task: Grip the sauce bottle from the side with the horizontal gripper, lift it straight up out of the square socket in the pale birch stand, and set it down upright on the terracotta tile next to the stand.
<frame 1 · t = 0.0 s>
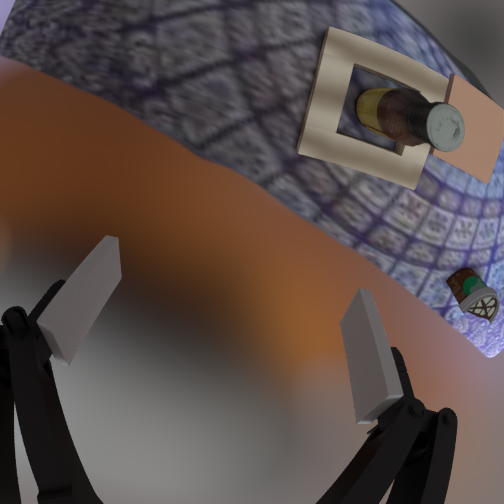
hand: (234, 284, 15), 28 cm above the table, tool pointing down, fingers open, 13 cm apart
terracotta tile: (471, 130, 31), on the table
food container: (466, 275, 46), on the table
bottle stand: (373, 108, 33), on the table
sauce bottle: (372, 108, 33), resting in bottle stand
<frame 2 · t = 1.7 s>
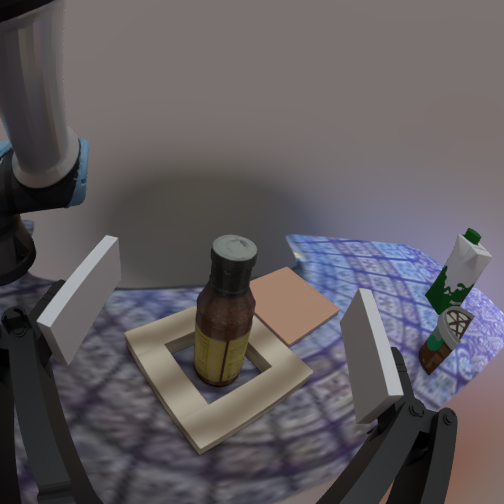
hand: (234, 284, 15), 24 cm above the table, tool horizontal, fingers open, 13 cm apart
terracotta tile: (286, 304, 49), on the table
food container: (427, 354, 44), on the table
bottle stand: (215, 368, 36), on the table
sauce bottle: (215, 369, 36), resting in bottle stand
milk carton: (439, 305, 58), on the table
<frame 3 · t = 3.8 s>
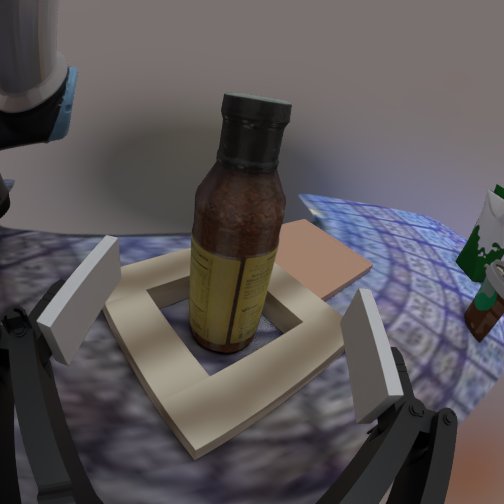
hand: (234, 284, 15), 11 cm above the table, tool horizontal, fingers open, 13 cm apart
terracotta tile: (308, 257, 39), on the table
food container: (472, 320, 34), on the table
bottle stand: (219, 329, 26), on the table
sauce bottle: (219, 331, 26), resting in bottle stand
milk carton: (471, 273, 48), on the table
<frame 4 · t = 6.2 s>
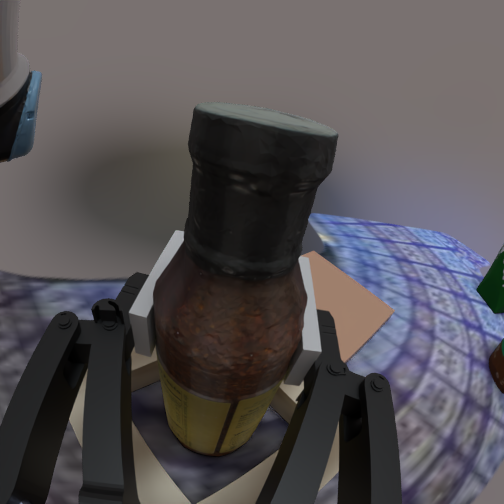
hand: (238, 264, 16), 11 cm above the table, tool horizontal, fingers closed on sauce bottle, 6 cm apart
terracotta tile: (318, 306, 31), on the table
food container: (496, 365, 26), on the table
bottle stand: (207, 422, 18), on the table
sauce bottle: (207, 423, 18), resting in bottle stand, touching gripper
milk carton: (492, 302, 40), on the table
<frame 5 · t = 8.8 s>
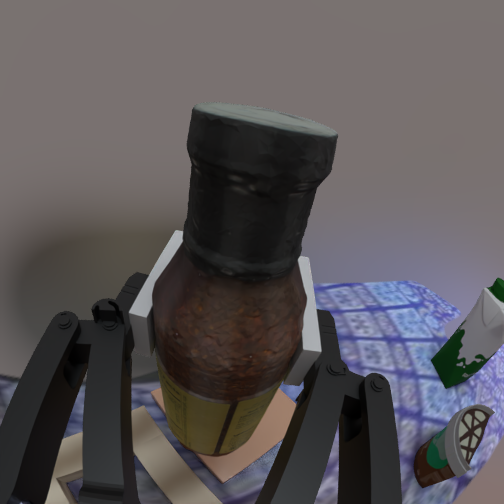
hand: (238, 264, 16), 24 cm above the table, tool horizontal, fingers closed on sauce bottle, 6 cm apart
terracotta tile: (229, 412, 31), on the table
food container: (425, 456, 27), on the table
sauce bottle: (206, 423, 18), point 13 cm above the table, touching gripper
milk carton: (447, 372, 41), on the table
when the fingers open (13 cm above the table, at t = 11.6 s): sauce bottle drops 1 cm, resting on terracotta tile.
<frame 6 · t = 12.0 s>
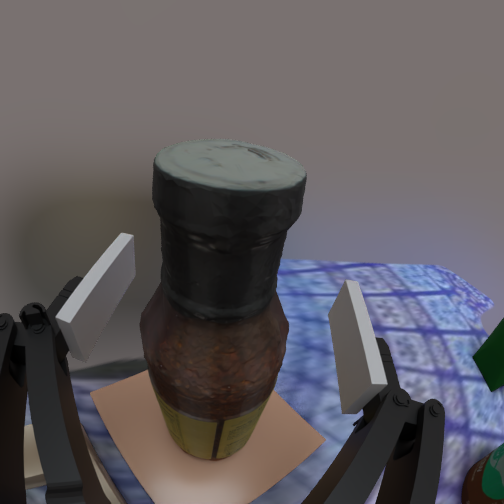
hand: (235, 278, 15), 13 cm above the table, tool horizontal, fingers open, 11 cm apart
terracotta tile: (204, 432, 19), on the table
food container: (473, 481, 14), on the table
sauce bottle: (206, 428, 19), point 1 cm above the table, touching terracotta tile
milk carton: (490, 371, 28), on the table
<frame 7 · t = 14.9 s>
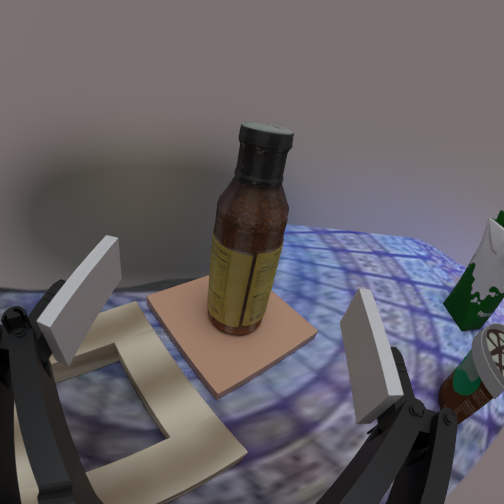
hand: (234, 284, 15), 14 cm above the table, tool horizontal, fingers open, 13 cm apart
terracotta tile: (230, 323, 31), on the table
food container: (449, 394, 26), on the table
bottle stand: (93, 421, 18), on the table
sauce bottle: (232, 317, 31), point 1 cm above the table, touching terracotta tile
milk carton: (461, 317, 40), on the table
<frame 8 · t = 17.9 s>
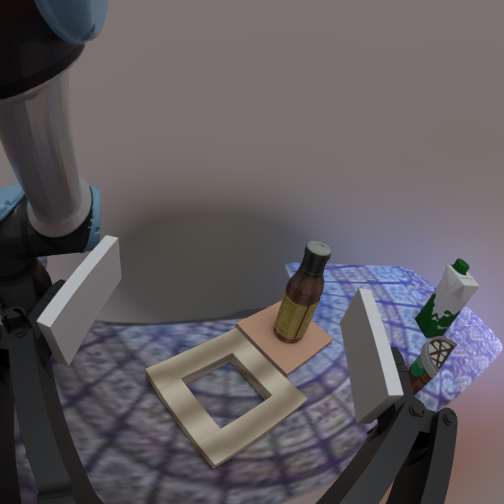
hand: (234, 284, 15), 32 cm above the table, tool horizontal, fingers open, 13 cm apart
terracotta tile: (285, 335, 54), on the table
food container: (412, 377, 49), on the table
bottle stand: (224, 396, 41), on the table
sauce bottle: (286, 333, 54), point 1 cm above the table, touching terracotta tile
milk carton: (428, 328, 63), on the table
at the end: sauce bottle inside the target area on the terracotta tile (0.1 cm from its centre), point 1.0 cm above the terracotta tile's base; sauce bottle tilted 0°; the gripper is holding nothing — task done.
